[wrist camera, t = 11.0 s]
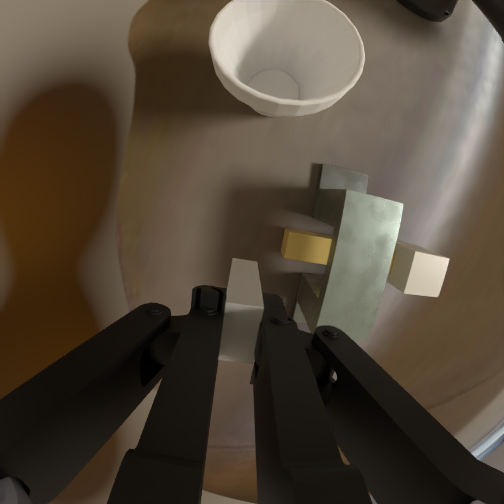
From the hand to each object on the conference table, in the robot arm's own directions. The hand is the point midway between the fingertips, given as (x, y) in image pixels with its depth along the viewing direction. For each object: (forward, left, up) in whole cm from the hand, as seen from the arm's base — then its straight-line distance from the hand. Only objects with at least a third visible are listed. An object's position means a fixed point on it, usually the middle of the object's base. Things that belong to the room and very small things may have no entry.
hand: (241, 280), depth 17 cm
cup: (-18, +1, -16) cm, 24 cm away
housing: (0, +11, -16) cm, 19 cm away
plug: (0, +15, -16) cm, 22 cm away
